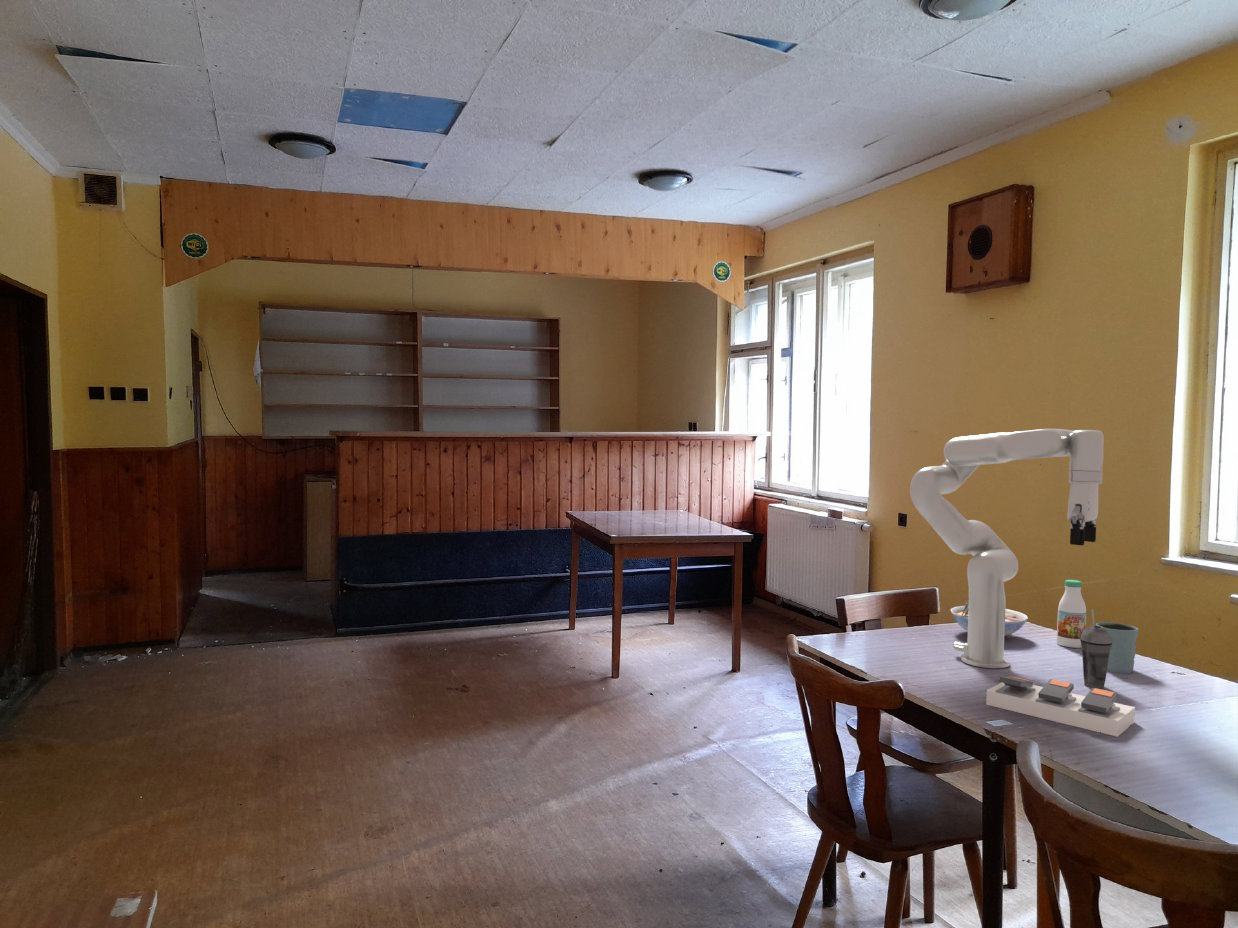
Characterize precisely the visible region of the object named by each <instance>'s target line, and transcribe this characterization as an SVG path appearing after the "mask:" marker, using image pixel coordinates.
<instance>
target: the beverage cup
mask: <svg viewBox="0 0 1238 928" xmlns="http://www.w3.org/2000/svg"><path fill="white" fill-rule="evenodd" d="M1094 611H1095V610H1094V608H1091V611H1090V612H1091V621H1092V623H1091V624H1092V625H1091V626H1088V627H1086V629H1085V630H1084V631H1083V633H1082V635H1081V639H1080V641H1081V648H1080V649H1081V652H1082V655H1081V657H1082V671H1083V673H1082V674H1083V682H1084V683H1083V684H1084V686H1085V687H1088V688H1091V689H1092V688H1097V689H1104V688H1105V684H1106V681H1107V680H1106V679H1107V672H1108V671H1107V666H1108V659H1109V652H1110V650H1111V645H1112V640H1111V636H1110V634H1109V633H1108V631H1107V630H1106V629H1104V628H1102V627H1100V626H1096V623H1095V613H1094Z"/></svg>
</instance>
